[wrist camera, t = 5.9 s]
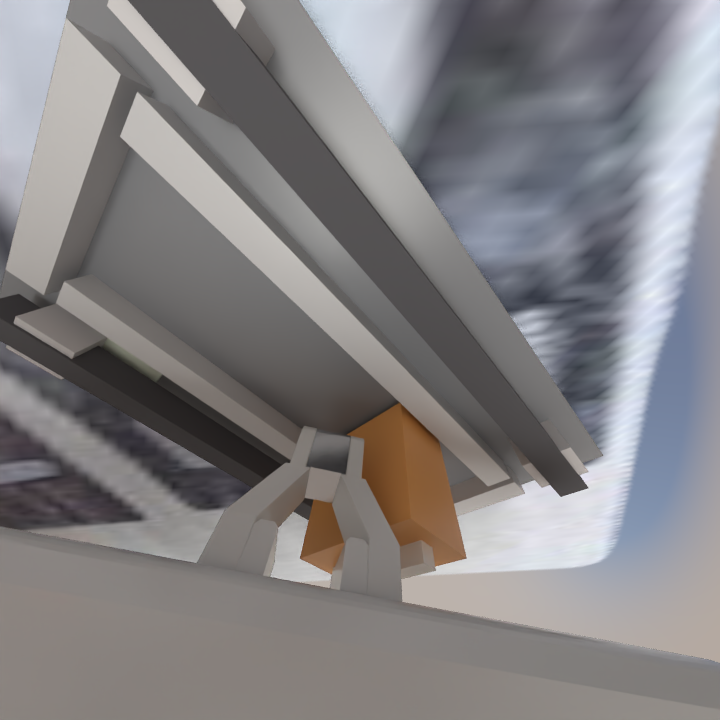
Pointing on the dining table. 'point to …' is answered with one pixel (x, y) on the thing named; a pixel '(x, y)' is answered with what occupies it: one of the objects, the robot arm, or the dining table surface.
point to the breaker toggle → (397, 497)
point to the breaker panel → (252, 254)
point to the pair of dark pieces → (342, 219)
